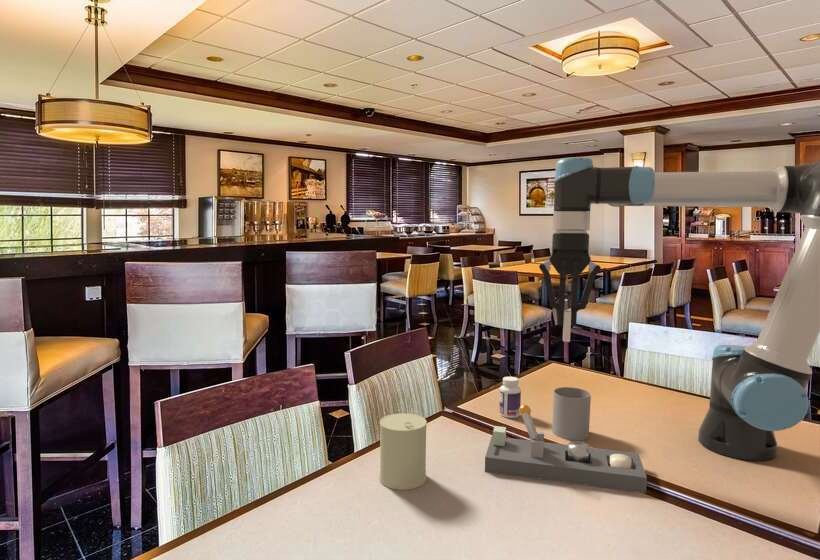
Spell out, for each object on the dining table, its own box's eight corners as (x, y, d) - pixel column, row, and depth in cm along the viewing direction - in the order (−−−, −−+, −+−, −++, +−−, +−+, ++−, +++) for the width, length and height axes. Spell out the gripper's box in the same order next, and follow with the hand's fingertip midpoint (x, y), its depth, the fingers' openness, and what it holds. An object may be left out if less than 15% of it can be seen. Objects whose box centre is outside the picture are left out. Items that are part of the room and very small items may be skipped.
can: (391, 494, 97) (392, 431, 96) (371, 473, 105) (371, 415, 104) (435, 483, 101) (436, 423, 100) (412, 464, 109) (413, 407, 108)
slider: (505, 440, 114) (506, 427, 113) (504, 446, 111) (504, 432, 111) (494, 439, 114) (494, 425, 114) (492, 444, 112) (493, 431, 111)
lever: (543, 443, 110) (528, 401, 110) (543, 449, 107) (528, 406, 107) (532, 445, 110) (517, 404, 110) (531, 451, 107) (516, 409, 107)
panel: (637, 467, 109) (639, 438, 108) (646, 493, 98) (647, 461, 98) (491, 449, 117) (492, 422, 116) (484, 471, 106) (485, 441, 106)
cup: (590, 441, 121) (592, 399, 120) (553, 438, 123) (555, 397, 122) (586, 428, 130) (587, 388, 128) (551, 425, 131) (552, 386, 130)
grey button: (587, 458, 108) (588, 442, 108) (588, 467, 104) (589, 450, 104) (567, 456, 109) (568, 440, 109) (567, 464, 105) (568, 447, 105)
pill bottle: (523, 413, 139) (524, 377, 138) (515, 420, 134) (516, 382, 133) (503, 409, 142) (504, 374, 141) (495, 415, 137) (496, 379, 136)
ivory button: (629, 471, 106) (630, 455, 106) (632, 481, 102) (633, 463, 102) (608, 469, 107) (609, 452, 107) (610, 478, 103) (610, 461, 103)
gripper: (601, 232, 115) (596, 338, 117) (540, 231, 118) (536, 334, 121) (604, 232, 108) (599, 346, 110) (539, 231, 111) (535, 341, 114)
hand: (566, 340), depth 116 cm, fingers closed
